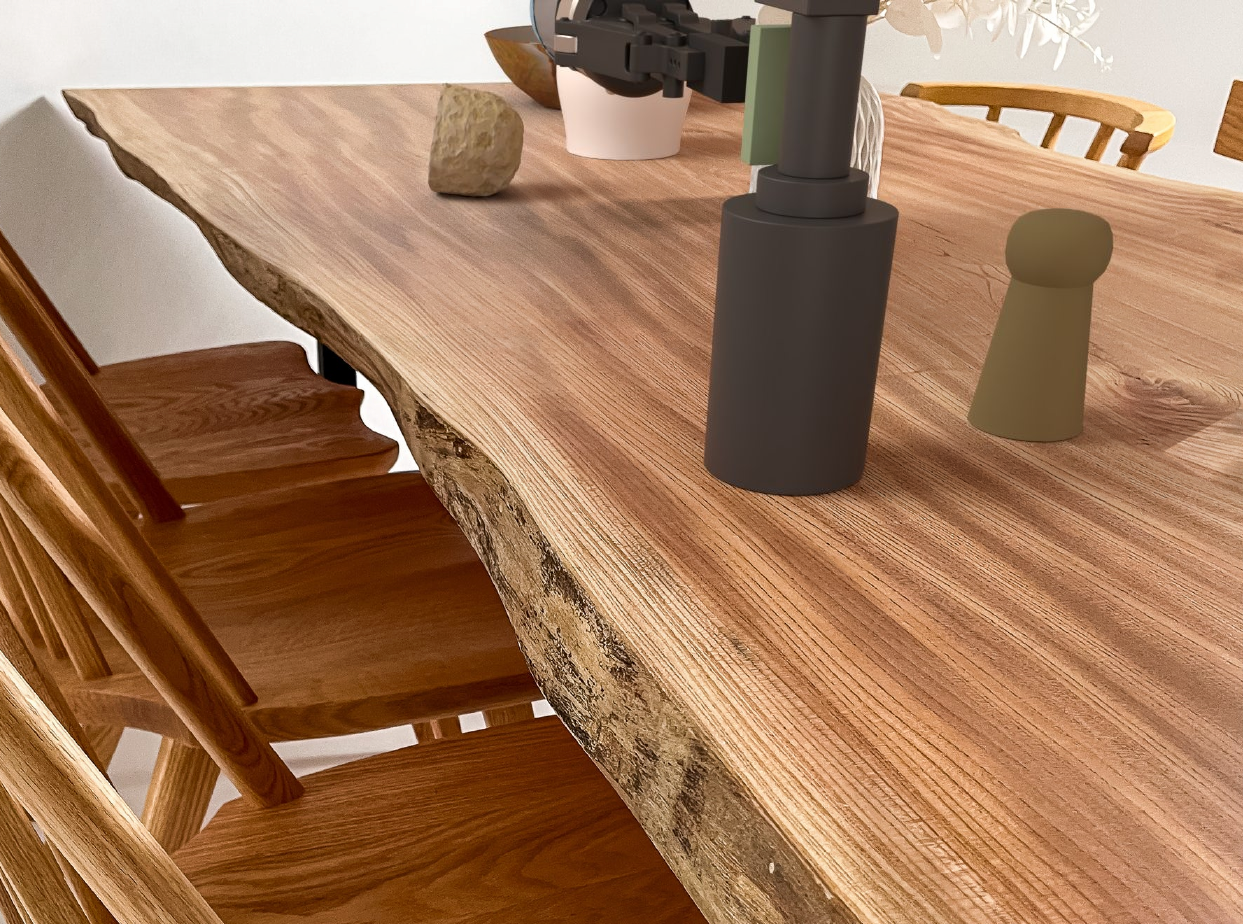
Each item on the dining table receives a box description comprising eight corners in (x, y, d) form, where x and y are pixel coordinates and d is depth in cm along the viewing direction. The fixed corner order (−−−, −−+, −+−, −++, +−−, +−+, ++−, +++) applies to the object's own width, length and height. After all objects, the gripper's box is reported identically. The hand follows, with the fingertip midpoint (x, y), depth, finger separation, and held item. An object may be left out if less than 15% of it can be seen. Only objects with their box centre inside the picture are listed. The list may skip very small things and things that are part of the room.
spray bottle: (671, 426, 76) (703, -99, 63) (812, 417, 77) (871, -99, 64) (731, 500, 67) (781, -93, 54) (889, 489, 68) (975, -93, 55)
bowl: (451, 111, 171) (449, 38, 167) (530, 86, 191) (530, 20, 186) (646, 124, 163) (650, 48, 158) (708, 97, 182) (713, 28, 178)
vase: (537, 142, 152) (538, -69, 142) (658, 135, 156) (668, -70, 146) (582, 165, 141) (587, -63, 130) (712, 157, 145) (727, -64, 134)
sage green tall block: (740, 160, 69) (750, 24, 66) (794, 158, 69) (807, 23, 66) (749, 165, 68) (760, 27, 64) (804, 164, 68) (818, 26, 65)
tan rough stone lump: (407, 103, 130) (505, 57, 127) (452, 210, 133) (548, 168, 130) (382, 109, 121) (485, 60, 118) (430, 224, 125) (532, 179, 122)
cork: (1103, 422, 76) (1150, 212, 71) (1048, 449, 73) (1093, 230, 67) (1002, 396, 80) (1040, 194, 74) (945, 421, 76) (980, 211, 71)
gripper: (716, 88, 95) (847, 148, 75) (527, 93, 93) (611, 155, 73) (724, -37, 91) (865, -8, 71) (528, -36, 89) (617, -6, 69)
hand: (736, 74), depth 72 cm, fingers closed
